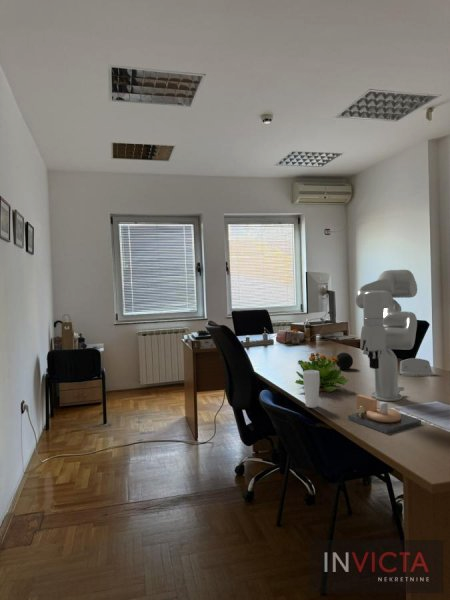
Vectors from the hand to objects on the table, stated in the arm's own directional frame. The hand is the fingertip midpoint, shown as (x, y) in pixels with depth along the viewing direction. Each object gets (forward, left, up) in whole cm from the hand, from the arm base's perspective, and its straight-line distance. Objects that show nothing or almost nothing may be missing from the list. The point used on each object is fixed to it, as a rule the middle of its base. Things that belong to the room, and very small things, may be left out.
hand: (374, 368), depth 161 cm
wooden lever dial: (+6, +6, -16) cm, 18 cm away
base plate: (+6, +9, -18) cm, 21 cm away
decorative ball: (-47, -66, -18) cm, 83 cm away
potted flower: (-5, -41, -18) cm, 45 cm away
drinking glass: (+16, -20, -18) cm, 31 cm away
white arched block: (-69, -33, -18) cm, 78 cm away
